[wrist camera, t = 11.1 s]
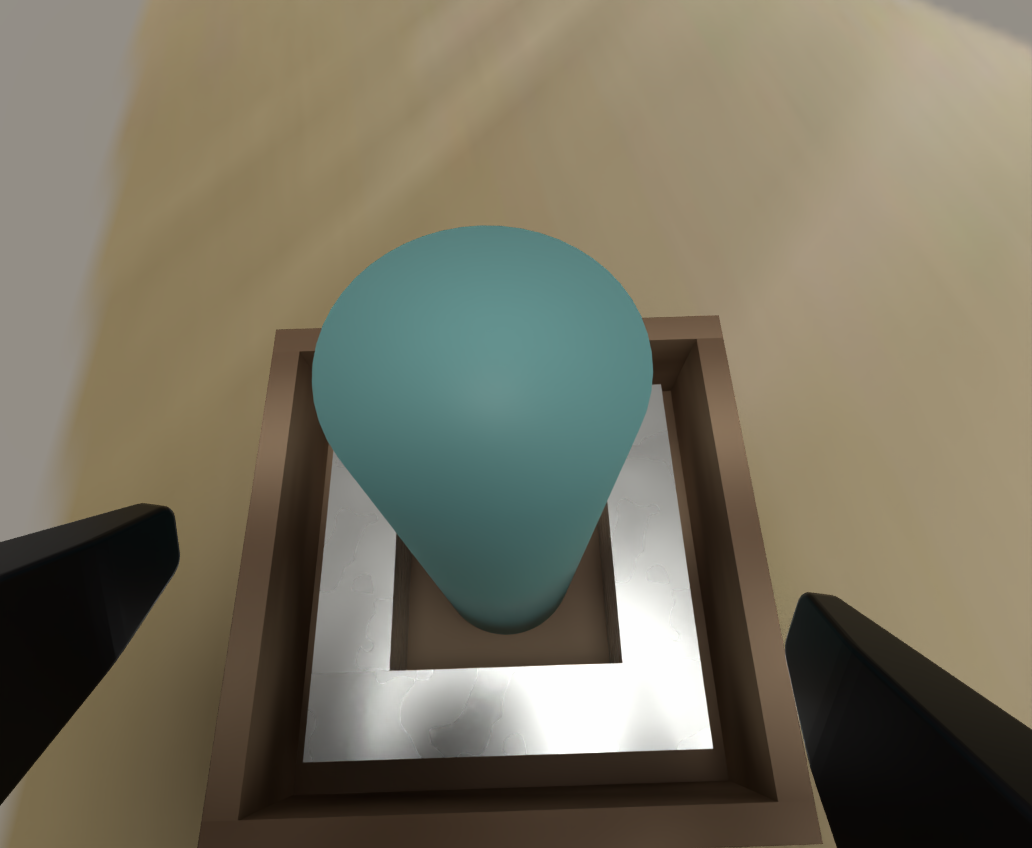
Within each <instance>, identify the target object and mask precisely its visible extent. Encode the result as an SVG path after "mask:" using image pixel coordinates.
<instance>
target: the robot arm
mask: <svg viewBox="0 0 1032 848" xmlns="http://www.w3.org/2000/svg"><path fill="white" fill-rule="evenodd" d="M179 560H180V551H179V544H178V536H177V529H176V522H175V516H174V513H173V511H172V510H171V509H170V508H169V507H166V506H161V505H153V504H146V503H140V504H136V505H132V506H129V507H125V508H121V509H118V510H114V511H111V512H107V513H104V514H100V515H96V516H93V517H89V518H86V519H82V520H78V521H75V522H71V523H68V524H64V525H60V526H57V527H53V528H50V529H46V530H42V531H39V532H35V533H32V534H28V535H25V536H21V537H17V538H14V539H10V540H7V541H3V542H0V805H1V804H2V803H3V802H4V800H5V799H6V798H7V797H8V795H9V794H10V793H11V792H12V790H13V789H14V788H15V787H16V785H17V784H18V783H19V782H20V781H21V779H22V778H23V777H24V776H25V774H26V773H27V772H28V771H29V769H30V768H31V767H32V766H33V764H34V763H35V762H36V761H37V759H38V758H39V757H40V756H41V754H42V753H43V752H44V751H45V749H46V748H47V747H48V746H49V745H50V743H51V742H52V741H53V740H54V738H55V737H56V736H57V735H58V733H59V732H60V731H61V730H62V728H63V727H64V726H65V725H66V723H67V722H68V721H69V720H70V718H71V717H72V716H73V715H74V713H75V712H76V711H77V710H78V709H79V707H80V706H81V705H82V704H83V702H84V701H85V700H86V699H87V697H88V696H89V695H90V694H91V692H92V691H93V690H94V689H95V687H96V686H97V685H98V684H99V682H100V681H101V680H102V679H103V677H104V676H105V675H106V674H107V672H108V671H109V670H110V668H111V667H112V666H113V665H114V663H115V662H116V661H117V659H118V658H119V656H120V655H121V653H122V652H123V651H124V649H125V648H126V646H127V645H128V643H129V642H130V640H131V639H132V637H133V636H134V634H135V633H136V631H137V630H138V628H139V627H140V625H141V624H142V622H143V621H144V619H145V618H146V616H147V615H148V613H149V612H150V610H151V609H152V607H153V605H154V604H155V602H156V601H157V599H158V598H159V596H160V595H161V593H162V592H163V590H164V589H165V587H166V586H167V584H168V583H169V581H170V580H171V578H172V577H173V575H174V574H175V572H176V570H177V567H178V565H179ZM785 657H786V662H787V667H788V671H789V676H790V680H791V685H792V689H793V694H794V698H795V703H796V707H797V712H798V716H799V721H800V725H801V730H802V734H803V739H804V744H805V748H806V752H807V756H808V760H809V764H810V768H811V771H812V774H813V777H814V780H815V784H816V787H817V790H818V793H819V796H820V799H821V802H822V805H823V808H824V810H825V813H826V816H827V819H828V822H829V825H830V828H831V831H832V834H833V837H834V840H835V843H836V846H837V848H1032V729H1030V728H1029V727H1027V726H1026V725H1024V724H1023V723H1021V722H1020V721H1019V720H1017V719H1016V718H1014V717H1013V716H1011V715H1010V714H1008V713H1007V712H1005V711H1004V710H1002V709H1001V708H999V707H998V706H997V705H995V704H994V703H992V702H991V701H989V700H988V699H986V698H985V697H983V696H982V695H980V694H979V693H977V692H976V691H974V690H973V689H972V688H970V687H969V686H967V685H966V684H964V683H963V682H961V681H960V680H958V679H957V678H955V677H954V676H952V675H951V674H950V673H948V672H947V671H945V670H944V669H942V668H941V667H939V666H938V665H936V664H935V663H933V662H932V661H930V660H929V659H928V658H926V657H925V656H923V655H922V654H920V653H919V652H917V651H916V650H914V649H913V648H911V647H910V646H908V645H907V644H906V643H904V642H903V641H901V640H900V639H898V638H897V637H895V636H894V635H892V634H891V633H889V632H888V631H886V630H885V629H883V628H882V627H881V626H879V625H878V624H876V623H875V622H873V621H872V620H870V619H869V618H867V617H866V616H864V615H863V614H861V613H860V612H859V611H857V610H856V609H854V608H853V607H851V606H850V605H848V604H847V603H845V602H844V601H842V600H841V599H839V598H838V597H836V596H833V595H827V594H819V593H811V592H806V593H804V594H803V595H801V597H800V598H799V600H798V603H797V606H796V609H795V612H794V615H793V619H792V622H791V625H790V628H789V631H788V635H787V638H786V643H785Z"/></svg>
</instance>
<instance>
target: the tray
mask: <svg viewBox="0 0 1032 848" xmlns="http://www.w3.org/2000/svg"><path fill="white" fill-rule="evenodd" d="M642 320H643V323H644V325H645V328H646V331H647V333H648V337H649V342H650V347H651V351H652V363H653V378H652V390H651V395H650V399H649V404H648V408H647V412H646V414H645V417H644V419H643V422H642V424H641V427H640V429H639V431H638V434H637V436H636V438H635V440H634V443H633V445H632V447H631V449H630V451H629V454H628V456H627V458H626V460H625V463H624V465H623V467H622V469H621V471H620V474H619V476H618V478H617V480H616V483H615V485H614V487H613V489H612V491H611V494H610V496H609V498H608V500H607V503H606V505H605V507H604V509H603V512H602V514H601V516H600V518H599V520H598V523H597V525H596V527H595V529H594V532H593V534H592V536H591V538H590V540H589V543H588V545H587V547H586V549H585V552H584V554H583V556H582V558H581V561H580V563H579V565H578V567H577V569H576V572H575V574H574V576H573V578H572V581H571V583H570V585H569V587H568V589H567V592H566V594H565V596H564V598H563V600H562V602H561V604H560V605H559V607H558V608H557V609H556V611H555V612H554V613H553V614H552V615H551V616H550V617H549V618H548V619H547V620H546V621H544V622H543V623H542V624H540V625H539V626H537V627H535V628H533V629H531V630H528V631H526V632H522V633H518V634H510V635H503V634H494V633H490V632H487V631H483V630H481V629H479V628H477V627H475V626H473V625H472V624H470V623H469V622H467V621H466V620H465V619H464V618H463V617H462V616H461V615H460V614H459V613H458V612H457V610H456V609H455V608H454V607H453V605H452V604H451V603H450V602H449V600H448V599H447V598H446V596H445V595H444V594H443V593H442V591H441V590H440V589H439V587H438V586H437V585H436V583H435V582H434V581H433V580H432V578H431V577H430V576H429V574H428V573H427V572H426V571H425V569H424V568H423V567H422V565H421V564H420V563H419V562H418V560H417V559H416V558H415V556H414V555H413V554H412V553H411V551H410V550H409V549H408V547H407V546H406V545H405V543H404V542H403V541H402V540H401V538H400V537H399V536H398V534H397V533H396V532H395V531H394V529H393V528H392V527H391V525H390V524H389V523H388V522H387V520H386V519H385V518H384V516H383V515H382V514H381V513H380V511H379V510H378V509H377V507H376V506H375V505H374V503H373V502H372V501H371V500H370V498H369V497H368V496H367V494H366V493H365V492H364V491H363V489H362V488H361V487H360V485H359V484H358V483H357V482H356V480H355V479H354V478H353V476H352V475H351V474H350V473H349V471H348V470H347V469H346V467H345V466H344V465H343V463H342V462H341V461H340V460H339V458H338V457H337V455H336V454H335V452H334V450H333V449H332V447H331V446H330V444H329V443H328V441H327V439H326V437H325V434H324V432H323V430H322V427H321V425H320V423H319V420H318V416H317V412H316V409H315V405H314V399H313V390H312V366H313V358H314V353H315V348H316V343H317V341H318V338H319V335H320V332H321V329H322V328H313V329H281V330H276V335H275V342H274V348H273V355H272V362H271V368H270V375H269V381H268V388H267V394H266V401H265V408H264V414H263V421H262V427H261V434H260V440H259V447H258V454H257V460H256V467H255V473H254V480H253V486H252V493H251V500H250V506H249V513H248V519H247V526H246V532H245V539H244V545H243V552H242V559H241V565H240V572H239V578H238V585H237V591H236V598H235V605H234V611H233V618H232V624H231V631H230V637H229V644H228V651H227V657H226V664H225V670H224V677H223V683H222V690H221V697H220V703H219V710H218V716H217V723H216V729H215V736H214V743H213V749H212V756H211V762H210V769H209V775H208V782H207V789H206V795H205V802H204V808H203V815H202V821H201V828H200V835H199V841H198V848H720V847H750V846H779V845H809V844H823V843H822V838H821V833H820V827H819V822H818V817H817V812H816V807H815V802H814V797H813V792H812V787H811V782H810V777H809V772H808V767H807V761H806V756H805V751H804V746H803V741H802V736H801V731H800V726H799V721H798V716H797V711H796V706H795V701H794V695H793V690H792V685H791V680H790V676H789V671H788V667H787V662H786V657H785V650H784V645H783V640H782V635H781V629H780V624H779V619H778V614H777V609H776V604H775V599H774V594H773V589H772V584H771V579H770V574H769V569H768V563H767V558H766V553H765V548H764V543H763V538H762V533H761V528H760V523H759V518H758V513H757V508H756V503H755V497H754V492H753V487H752V482H751V477H750V472H749V467H748V462H747V457H746V452H745V447H744V442H743V437H742V431H741V426H740V421H739V416H738V411H737V406H736V401H735V396H734V391H733V386H732V381H731V376H730V371H729V365H728V360H727V355H726V350H725V345H724V340H723V335H722V330H721V325H720V320H719V315H718V316H686V317H655V318H642Z"/></svg>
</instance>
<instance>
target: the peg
mask: <svg viewBox="0 0 1032 848" xmlns="http://www.w3.org/2000/svg"><path fill="white" fill-rule="evenodd" d="M652 378H653V363H652V351H651V347H650V342H649V337H648V333H647V331H646V328H645V325H644V323H643V320H642V317H641V315H640V313H639V311H638V310H637V308H636V306H635V304H634V302H633V300H632V299H631V297H630V296H629V295H628V293H627V292H626V291H625V289H624V288H623V287H622V285H621V284H620V283H619V282H618V281H617V280H616V279H615V278H614V277H613V276H612V275H611V273H610V272H609V271H608V270H606V269H605V268H604V267H603V266H602V265H600V264H599V263H598V262H597V261H595V260H594V259H593V258H591V257H590V256H588V255H587V254H585V253H583V252H582V251H580V250H579V249H577V248H575V247H573V246H571V245H569V244H567V243H565V242H563V241H561V240H559V239H556V238H553V237H550V236H547V235H544V234H541V233H538V232H534V231H529V230H525V229H521V228H513V227H505V226H470V227H460V228H454V229H449V230H443V231H439V232H436V233H433V234H429V235H426V236H422V237H420V238H418V239H415V240H413V241H410V242H408V243H405V244H403V245H401V246H400V247H398V248H396V249H394V250H392V251H390V252H388V253H387V254H385V255H384V256H382V257H381V258H379V259H378V260H377V261H375V262H374V263H372V264H371V265H370V266H368V267H367V268H366V269H365V270H364V271H363V272H362V273H360V274H359V275H358V276H357V277H356V278H355V279H354V280H353V281H352V282H351V284H350V285H349V286H348V287H347V288H346V289H345V290H344V291H343V293H342V294H341V295H340V297H339V298H338V300H337V301H336V303H335V304H334V306H333V307H332V309H331V310H330V312H329V314H328V316H327V318H326V320H325V322H324V324H323V326H322V329H321V332H320V335H319V338H318V341H317V343H316V348H315V353H314V358H313V366H312V390H313V399H314V405H315V409H316V412H317V416H318V420H319V423H320V425H321V427H322V430H323V432H324V434H325V437H326V439H327V441H328V443H329V444H330V446H331V447H332V449H333V450H334V452H335V454H336V455H337V457H338V458H339V460H340V461H341V462H342V463H343V465H344V466H345V467H346V469H347V470H348V471H349V473H350V474H351V475H352V476H353V478H354V479H355V480H356V482H357V483H358V484H359V485H360V487H361V488H362V489H363V491H364V492H365V493H366V494H367V496H368V497H369V498H370V500H371V501H372V502H373V503H374V505H375V506H376V507H377V509H378V510H379V511H380V513H381V514H382V515H383V516H384V518H385V519H386V520H387V522H388V523H389V524H390V525H391V527H392V528H393V529H394V531H395V532H396V533H397V534H398V536H399V537H400V538H401V540H402V541H403V542H404V543H405V545H406V546H407V547H408V549H409V550H410V551H411V553H412V554H413V555H414V556H415V558H416V559H417V560H418V562H419V563H420V564H421V565H422V567H423V568H424V569H425V571H426V572H427V573H428V574H429V576H430V577H431V578H432V580H433V581H434V582H435V583H436V585H437V586H438V587H439V589H440V590H441V591H442V593H443V594H444V595H445V596H446V598H447V599H448V600H449V602H450V603H451V604H452V605H453V607H454V608H455V609H456V610H457V612H458V613H459V614H460V615H461V616H462V617H463V618H464V619H465V620H466V621H467V622H469V623H470V624H472V625H473V626H475V627H477V628H479V629H481V630H483V631H487V632H490V633H494V634H503V635H510V634H518V633H522V632H526V631H528V630H531V629H533V628H535V627H537V626H539V625H540V624H542V623H543V622H544V621H546V620H547V619H548V618H549V617H550V616H551V615H552V614H553V613H554V612H555V611H556V609H557V608H558V607H559V605H560V604H561V602H562V600H563V598H564V596H565V594H566V592H567V589H568V587H569V585H570V583H571V581H572V578H573V576H574V574H575V572H576V569H577V567H578V565H579V563H580V561H581V558H582V556H583V554H584V552H585V549H586V547H587V545H588V543H589V540H590V538H591V536H592V534H593V532H594V529H595V527H596V525H597V523H598V520H599V518H600V516H601V514H602V512H603V509H604V507H605V505H606V503H607V500H608V498H609V496H610V494H611V491H612V489H613V487H614V485H615V483H616V480H617V478H618V476H619V474H620V471H621V469H622V467H623V465H624V463H625V460H626V458H627V456H628V454H629V451H630V449H631V447H632V445H633V443H634V440H635V438H636V436H637V434H638V431H639V429H640V427H641V424H642V422H643V419H644V417H645V414H646V412H647V408H648V404H649V399H650V395H651V390H652Z"/></svg>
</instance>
